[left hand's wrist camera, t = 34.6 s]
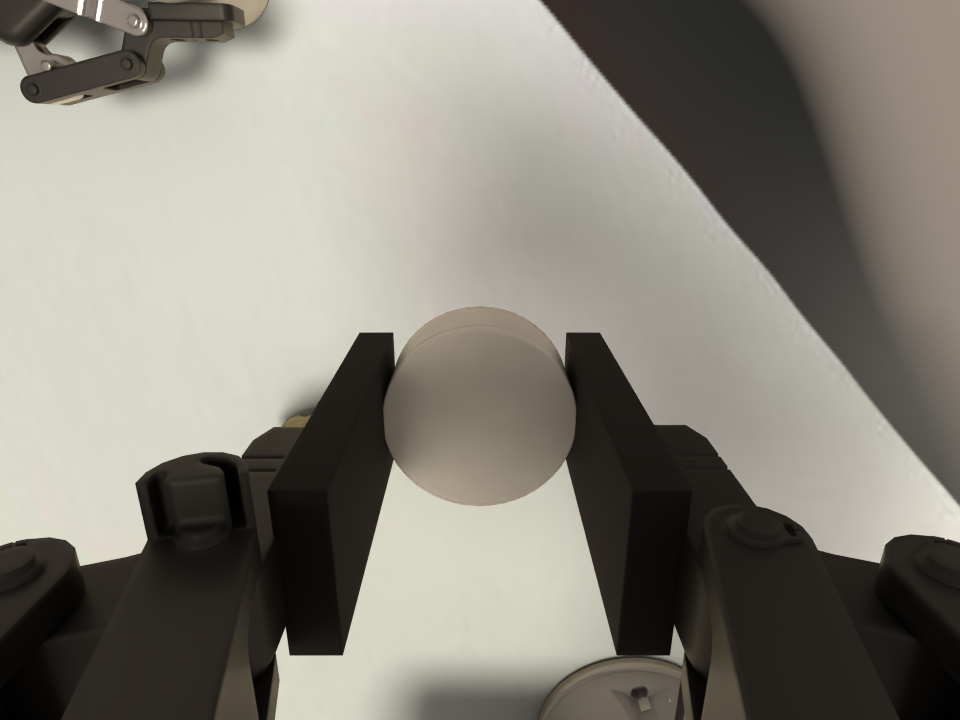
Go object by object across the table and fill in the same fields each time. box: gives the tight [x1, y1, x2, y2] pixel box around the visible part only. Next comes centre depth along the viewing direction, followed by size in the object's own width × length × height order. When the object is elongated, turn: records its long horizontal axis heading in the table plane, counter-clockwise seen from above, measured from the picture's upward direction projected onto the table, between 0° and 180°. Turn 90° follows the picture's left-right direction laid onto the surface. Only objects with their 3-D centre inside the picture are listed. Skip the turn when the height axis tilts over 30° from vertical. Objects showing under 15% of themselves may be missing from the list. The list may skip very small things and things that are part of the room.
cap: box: [383, 307, 576, 506], centre depth 13 cm, size 4×4×2 cm
